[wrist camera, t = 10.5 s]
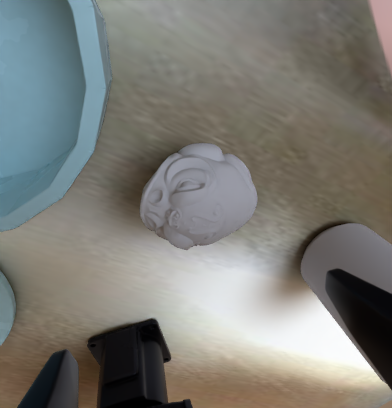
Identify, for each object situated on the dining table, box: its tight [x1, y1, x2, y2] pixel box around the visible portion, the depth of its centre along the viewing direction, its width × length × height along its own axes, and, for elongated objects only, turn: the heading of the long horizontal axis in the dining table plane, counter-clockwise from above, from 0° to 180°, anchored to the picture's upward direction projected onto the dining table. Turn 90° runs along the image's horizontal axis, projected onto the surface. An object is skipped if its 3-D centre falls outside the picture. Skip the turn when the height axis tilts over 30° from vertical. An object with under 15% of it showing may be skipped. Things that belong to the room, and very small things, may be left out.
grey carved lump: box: [140, 143, 257, 250], centre depth 16 cm, size 6×7×7 cm
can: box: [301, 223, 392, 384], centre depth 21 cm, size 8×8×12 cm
